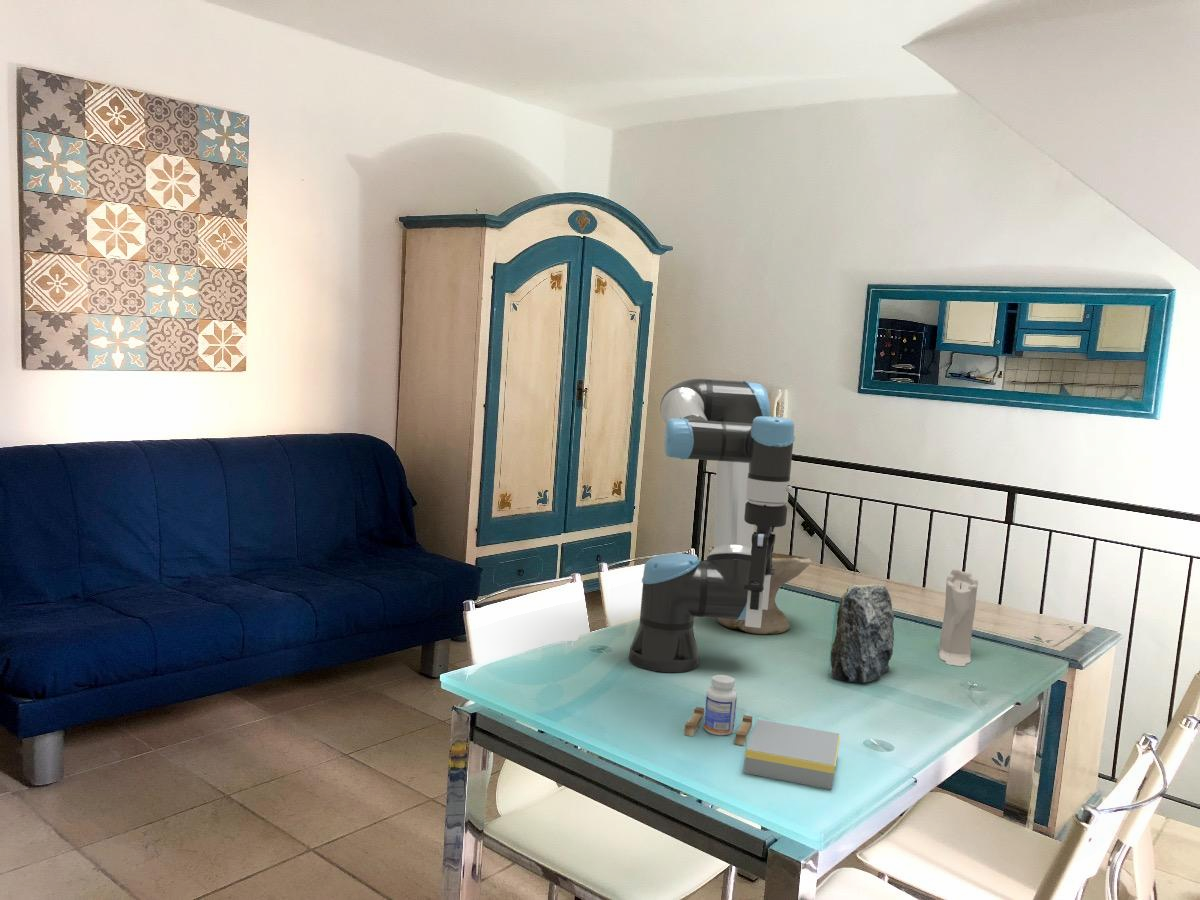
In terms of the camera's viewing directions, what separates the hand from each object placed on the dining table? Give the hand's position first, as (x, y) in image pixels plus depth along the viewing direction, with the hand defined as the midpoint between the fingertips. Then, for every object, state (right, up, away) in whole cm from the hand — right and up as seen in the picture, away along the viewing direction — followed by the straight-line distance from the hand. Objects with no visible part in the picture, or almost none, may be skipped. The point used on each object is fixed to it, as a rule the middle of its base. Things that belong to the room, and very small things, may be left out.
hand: (756, 617), depth 179 cm
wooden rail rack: (-7, -20, -2) cm, 21 cm away
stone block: (+29, -19, +35) cm, 49 cm away
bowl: (+10, -14, +69) cm, 71 cm away
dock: (+4, -22, -15) cm, 27 cm away
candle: (+55, -19, +52) cm, 78 cm away
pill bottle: (-7, -20, -2) cm, 22 cm away
